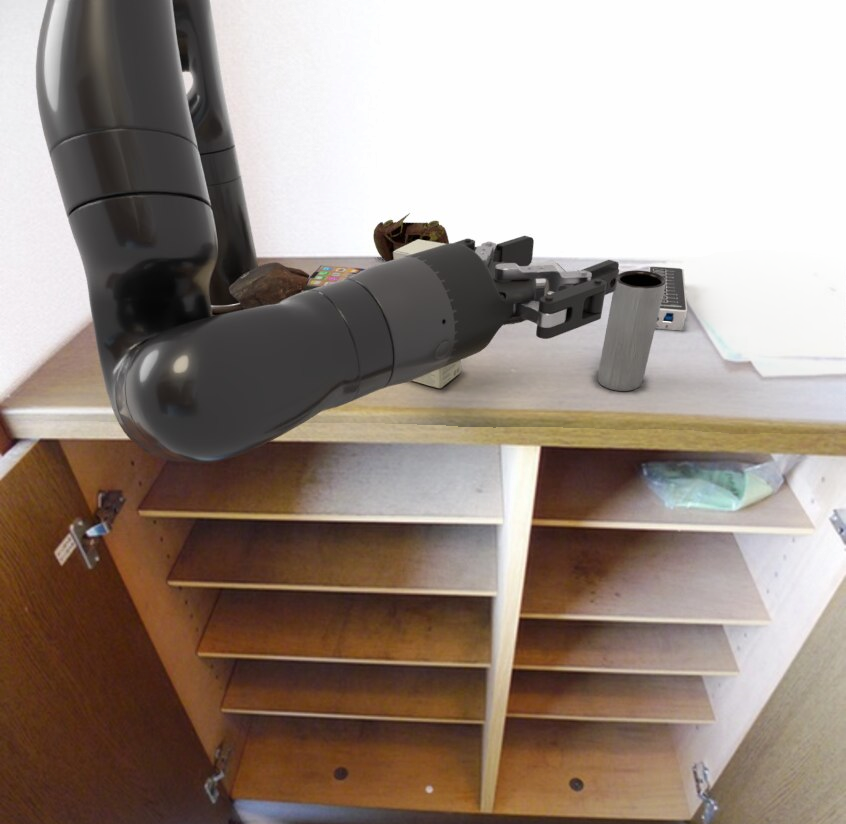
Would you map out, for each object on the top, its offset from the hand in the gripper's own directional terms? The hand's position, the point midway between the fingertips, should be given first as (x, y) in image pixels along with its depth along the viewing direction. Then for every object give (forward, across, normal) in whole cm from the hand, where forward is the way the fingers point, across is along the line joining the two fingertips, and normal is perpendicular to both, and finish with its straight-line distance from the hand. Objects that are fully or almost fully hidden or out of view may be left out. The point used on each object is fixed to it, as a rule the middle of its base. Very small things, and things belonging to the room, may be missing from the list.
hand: (569, 261), depth 50 cm
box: (-2, +14, +14) cm, 21 cm away
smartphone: (+8, +40, +14) cm, 44 cm away
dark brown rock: (-1, +38, +10) cm, 39 cm away
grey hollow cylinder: (+11, 0, +14) cm, 18 cm away
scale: (+24, +24, +14) cm, 36 cm away
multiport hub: (+31, +9, +14) cm, 36 cm away
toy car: (+20, +43, +10) cm, 49 cm away
